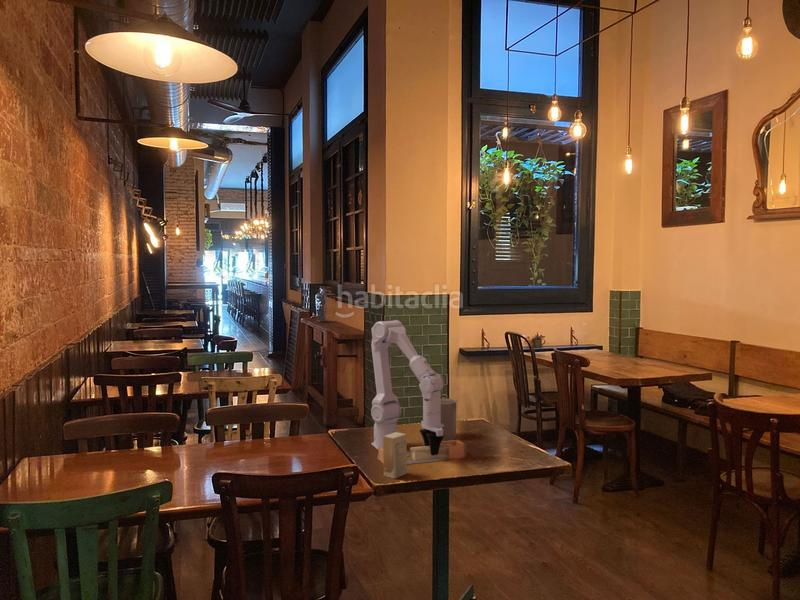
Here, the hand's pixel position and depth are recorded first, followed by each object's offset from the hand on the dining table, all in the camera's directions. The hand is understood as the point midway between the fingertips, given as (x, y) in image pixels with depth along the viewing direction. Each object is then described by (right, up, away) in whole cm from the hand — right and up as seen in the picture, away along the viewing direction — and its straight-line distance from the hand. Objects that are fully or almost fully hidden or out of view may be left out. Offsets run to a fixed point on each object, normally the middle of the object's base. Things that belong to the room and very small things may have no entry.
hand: (431, 453), depth 204 cm
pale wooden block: (0, -2, 0) cm, 2 cm away
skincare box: (-12, -2, -19) cm, 22 cm away
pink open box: (+7, -1, +2) cm, 7 cm away
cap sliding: (-14, -2, -5) cm, 14 cm away
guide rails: (-7, -2, -2) cm, 7 cm away
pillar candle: (+6, -1, +26) cm, 27 cm away
